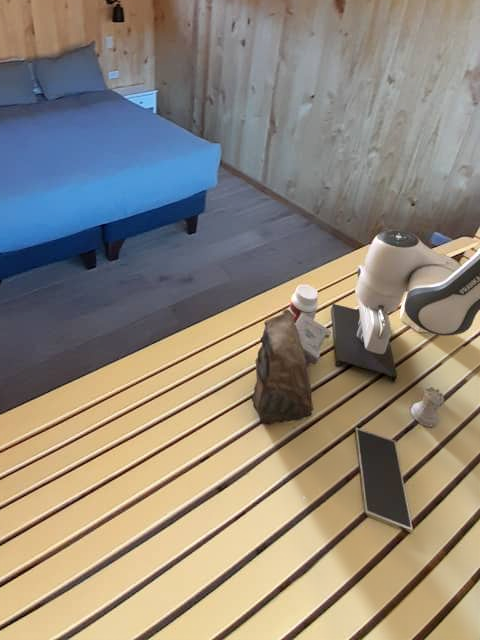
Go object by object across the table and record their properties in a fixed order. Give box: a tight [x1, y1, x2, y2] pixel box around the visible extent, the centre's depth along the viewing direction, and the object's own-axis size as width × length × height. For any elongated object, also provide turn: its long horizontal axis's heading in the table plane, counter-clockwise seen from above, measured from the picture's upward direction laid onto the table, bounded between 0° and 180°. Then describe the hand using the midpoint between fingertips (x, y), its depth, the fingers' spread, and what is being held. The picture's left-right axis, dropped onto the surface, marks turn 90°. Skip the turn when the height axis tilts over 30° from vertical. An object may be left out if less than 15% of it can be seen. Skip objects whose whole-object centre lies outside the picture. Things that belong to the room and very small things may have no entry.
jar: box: [399, 292, 429, 333], centre depth 103 cm, size 9×8×12 cm
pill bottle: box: [288, 284, 319, 323], centre depth 103 cm, size 6×6×11 cm
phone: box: [354, 427, 414, 534], centre depth 74 cm, size 7×15×1 cm, turn 158°
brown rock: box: [251, 308, 315, 426], centre depth 84 cm, size 13×13×20 cm
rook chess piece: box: [410, 386, 445, 428], centre depth 82 cm, size 4×4×8 cm
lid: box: [330, 303, 398, 384], centre depth 98 cm, size 12×18×6 cm, turn 158°
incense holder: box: [295, 314, 333, 370], centre depth 93 cm, size 10×8×10 cm
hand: (363, 333), depth 98 cm, fingers closed on lid, 2 cm apart
